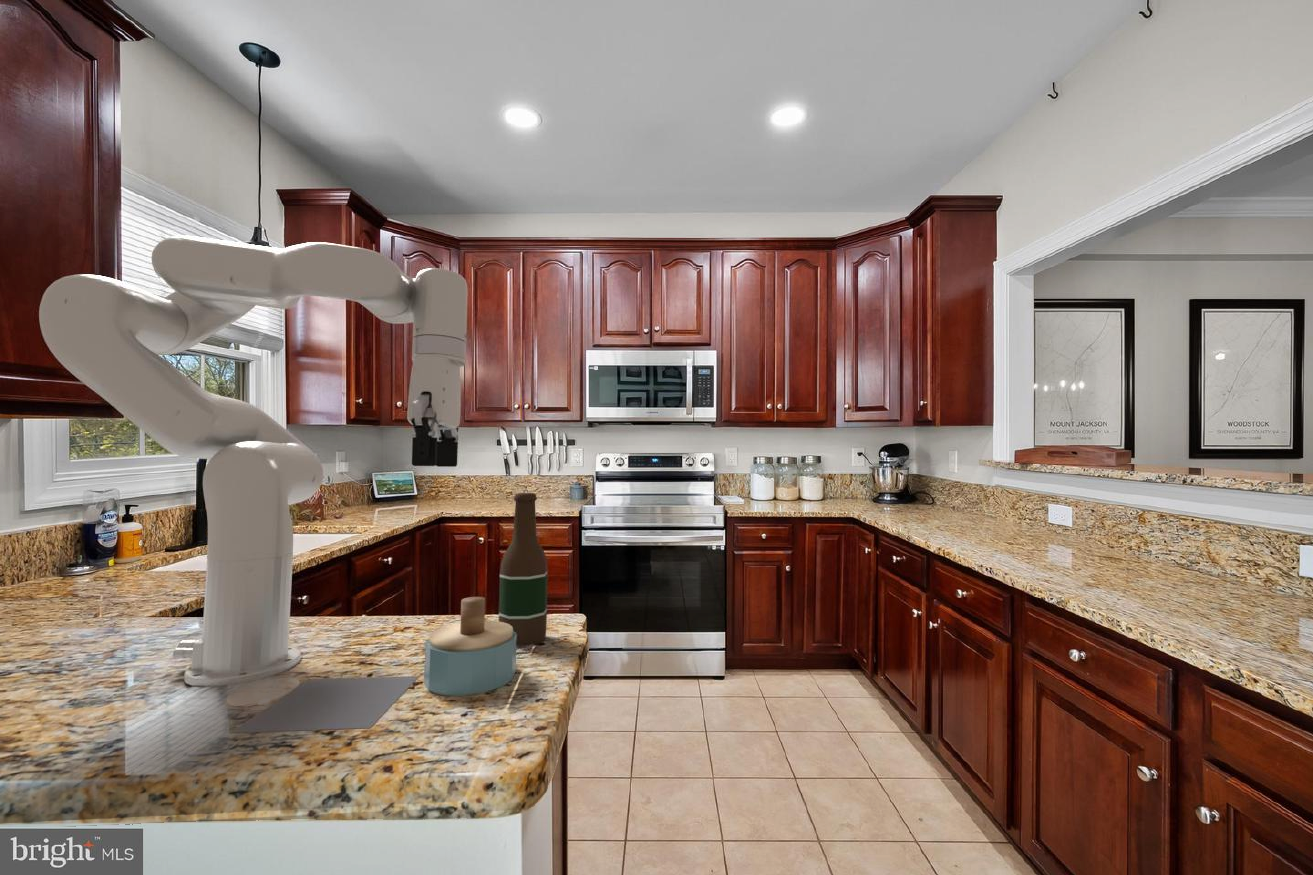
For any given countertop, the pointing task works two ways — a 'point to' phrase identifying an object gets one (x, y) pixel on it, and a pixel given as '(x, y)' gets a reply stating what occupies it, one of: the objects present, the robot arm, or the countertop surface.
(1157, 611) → the countertop surface
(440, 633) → the lid
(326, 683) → the mat
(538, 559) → the beer bottle
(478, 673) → the bowl
